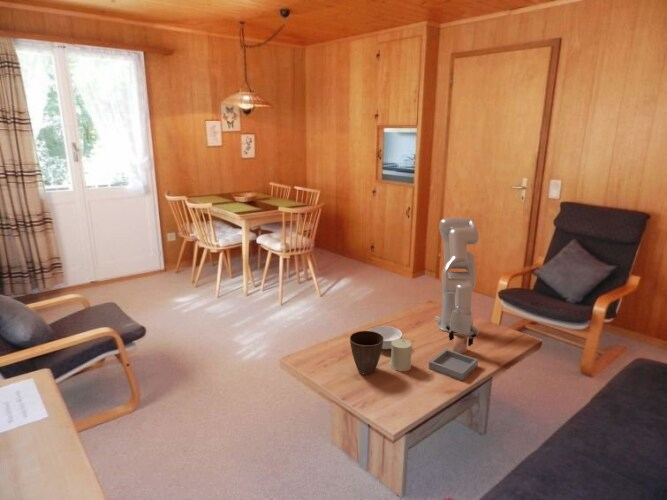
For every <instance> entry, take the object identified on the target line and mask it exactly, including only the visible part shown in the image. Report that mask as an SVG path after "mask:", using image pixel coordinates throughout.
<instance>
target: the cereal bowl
mask: <svg viewBox="0 0 667 500" xmlns="http://www.w3.org/2000/svg"><path fill="white" fill-rule="evenodd" d="M368 331H372V332H376V333H379V334H381V335H382V336H383V338H384V339H383V345H382V350H391V348H392V344H391V342H392V341H393V340H396V339H403V333H402V330H400V329H398V328H396V327H393V326H389V325H380V326H379V325H377V326H374V327H372V328H370V329H369V330H368Z"/></svg>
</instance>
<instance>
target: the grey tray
mask: <svg viewBox="0 0 667 500" xmlns="http://www.w3.org/2000/svg"><path fill="white" fill-rule="evenodd" d="M478 364H479V359H477V358H474V357H472V356H468V355H465V354H460V353H457V352H454V351H453V350H450V349H446V348H445V349H444V350H443V351H441V352H440V353H438V355H436V356H435V357H433V358H432V359H431V360H429V361H428V369H429V370H431V371H433V372H436V373H439V374H442V375H444V376H447V377H450V378H453V379H455V380H457V381H461V382H463V381H464V380H465V379H466V378H467V377H468V376H469V375H470V374H471V373H472V372H473V371H475V369H477V368H478V367H479V366H478Z"/></svg>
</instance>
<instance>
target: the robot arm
mask: <svg viewBox="0 0 667 500" xmlns="http://www.w3.org/2000/svg"><path fill="white" fill-rule="evenodd" d="M438 227H439V229H438V230H439V234H440V237H441V240H442V244H443V263H444V264H443V268H442V271H441V280H440V281H441V289H442V292H441V293H442V295H441V309H440V310H441V313H440V314H441V316H439V315H435V316H434V321H435V322H438V323H437V328H438V329H439V330H441V331H443V332H448V339H449V341H453V340H454V334H455V333H462V334H466V335H467V336H468V337H469V338H467V347H471V346H472V345H474V338H475V337H476V336H478V334H479V333H480V329H478V328H477V327H476V326H474V317H473V312H472V298H473V289H475V287H476V283H477V276H476V258H475V254H474V253H473V252H472V251H468V247H467V245H477V244H478V243H479V239H480V238H479V237H480V236H479V231H478V227H477V225H476V223H475V221H474V219H473V218H471V217H446V218H442V219H441V220H440V221H439V224H438ZM450 270H464V271H450Z"/></svg>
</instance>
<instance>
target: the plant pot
mask: <svg viewBox="0 0 667 500" xmlns="http://www.w3.org/2000/svg"><path fill="white" fill-rule="evenodd" d="M383 339H384V338H383V336H382V335H381V334H379V333H376V332H372V331H369V330H359V331H357V332H356V331H355V332H353V333H352V334H351V335H349V342H350V343H349V344H350V348H351V349H350V350H351V354H352V357H353V358H352V359H353V361H354V363H355V366H356V369H357V371H358V373H360V372H361V373H364V374H363V375H366V374H368V375H372V374H374V373H375V371H376V369H377V367H378V363H379V361H380V358H381V354H382V350H383V349H382V345H383ZM373 372H374V373H373ZM361 373H360V374H361ZM371 373H372V374H371Z"/></svg>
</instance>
